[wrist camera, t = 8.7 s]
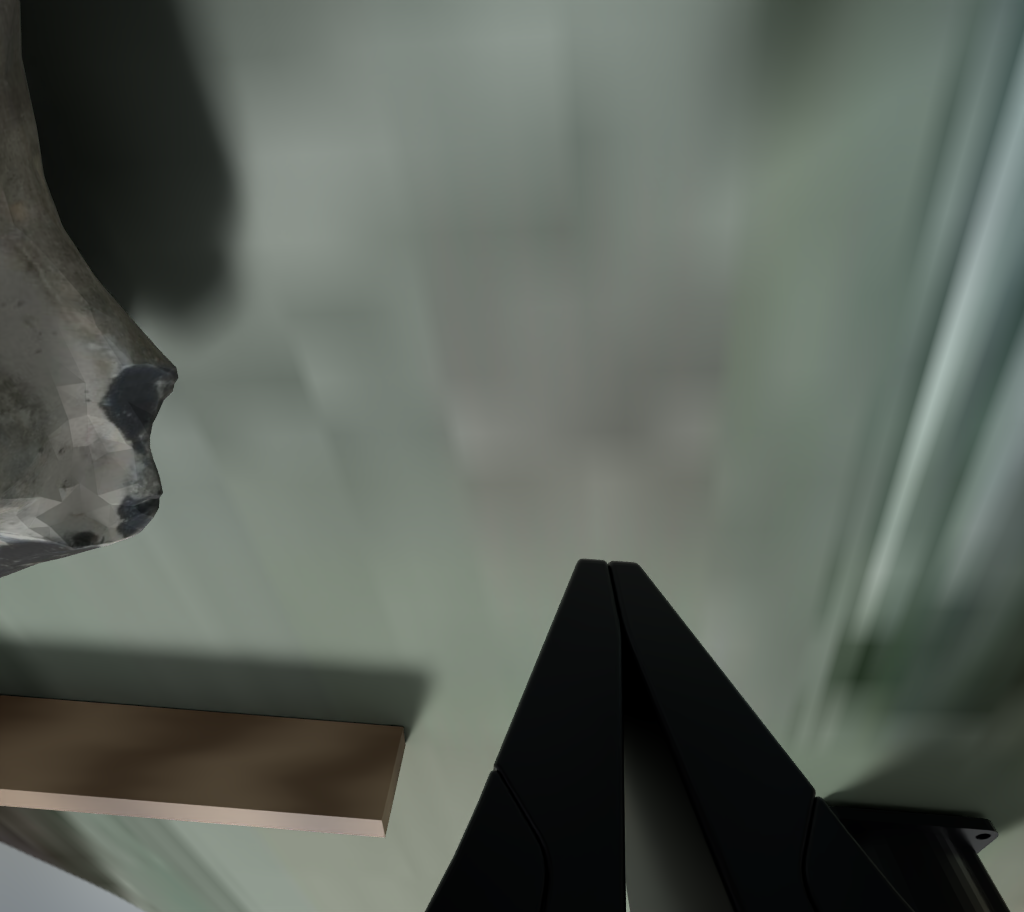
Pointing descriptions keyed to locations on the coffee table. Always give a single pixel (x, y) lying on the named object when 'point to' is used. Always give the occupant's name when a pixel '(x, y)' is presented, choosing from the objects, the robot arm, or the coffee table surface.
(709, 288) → the coffee table surface
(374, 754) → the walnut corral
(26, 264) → the decorative stone
